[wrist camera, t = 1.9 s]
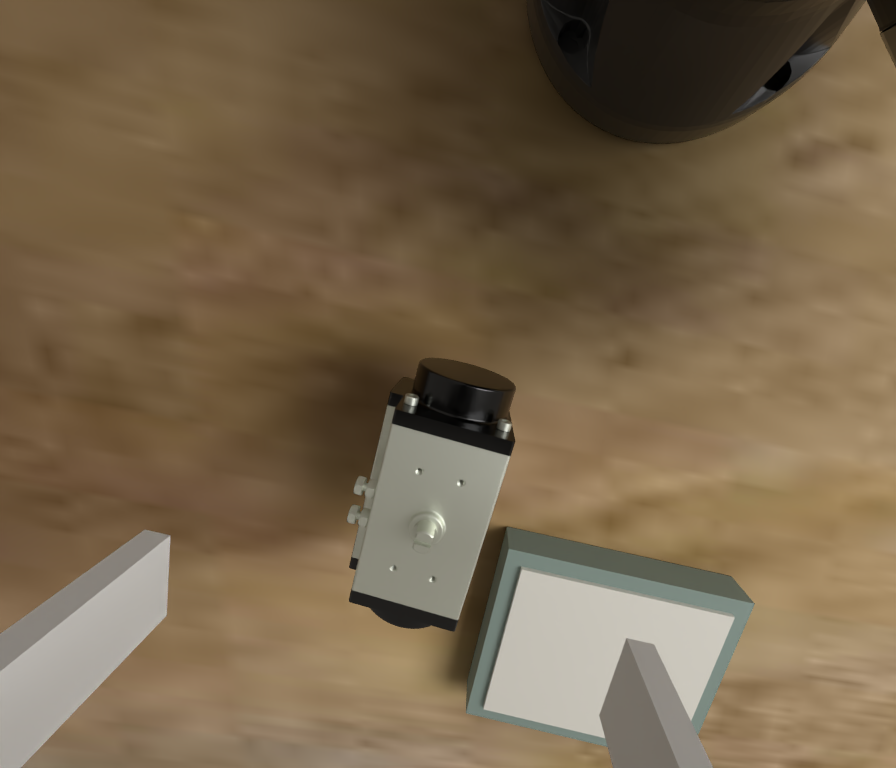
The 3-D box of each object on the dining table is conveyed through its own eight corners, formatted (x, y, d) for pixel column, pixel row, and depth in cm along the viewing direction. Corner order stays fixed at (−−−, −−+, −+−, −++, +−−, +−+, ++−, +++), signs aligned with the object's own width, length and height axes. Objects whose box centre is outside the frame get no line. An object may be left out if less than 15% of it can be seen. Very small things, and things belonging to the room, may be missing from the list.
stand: (506, 526, 29) (509, 551, 26) (731, 576, 28) (757, 607, 26) (467, 680, 32) (465, 717, 29) (669, 727, 31) (686, 770, 29)
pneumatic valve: (509, 357, 26) (529, 415, 15) (460, 522, 29) (443, 682, 17) (422, 333, 26) (373, 372, 15) (381, 500, 29) (312, 644, 18)
